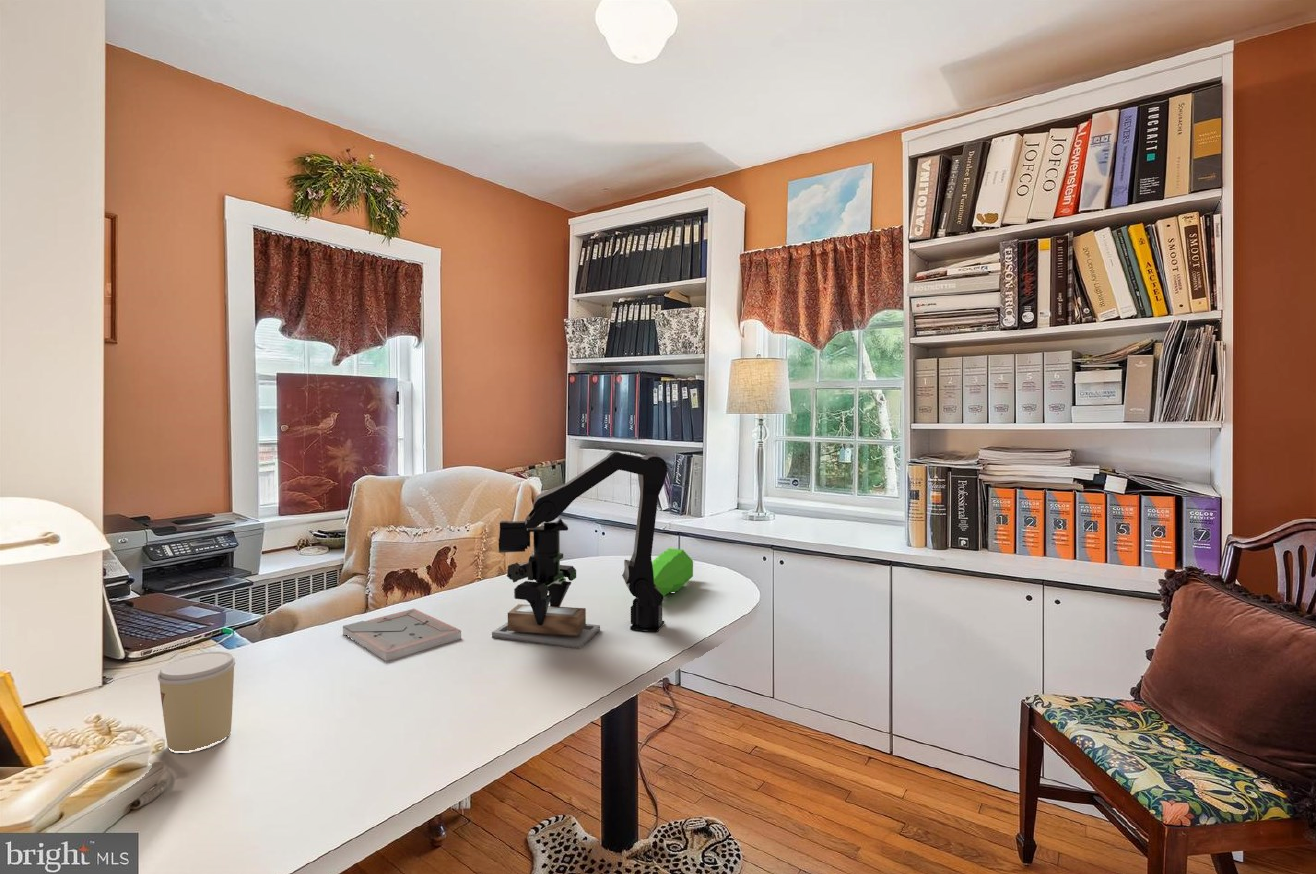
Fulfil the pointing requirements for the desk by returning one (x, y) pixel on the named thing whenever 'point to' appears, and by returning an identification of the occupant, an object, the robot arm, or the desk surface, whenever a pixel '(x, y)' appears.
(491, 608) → the desk surface
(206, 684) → the coffee cup
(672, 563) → the green faceted polyhedron
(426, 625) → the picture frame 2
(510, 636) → the display tray
